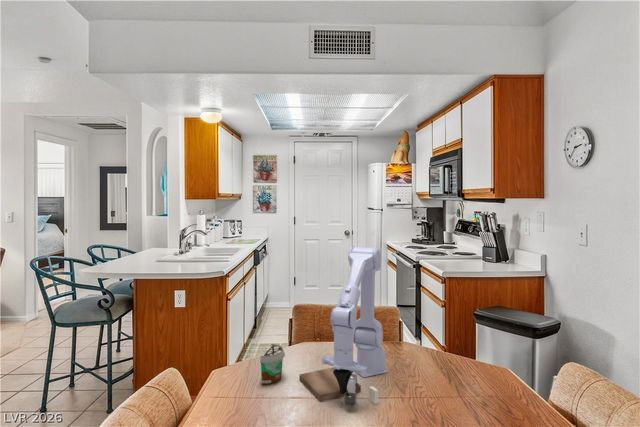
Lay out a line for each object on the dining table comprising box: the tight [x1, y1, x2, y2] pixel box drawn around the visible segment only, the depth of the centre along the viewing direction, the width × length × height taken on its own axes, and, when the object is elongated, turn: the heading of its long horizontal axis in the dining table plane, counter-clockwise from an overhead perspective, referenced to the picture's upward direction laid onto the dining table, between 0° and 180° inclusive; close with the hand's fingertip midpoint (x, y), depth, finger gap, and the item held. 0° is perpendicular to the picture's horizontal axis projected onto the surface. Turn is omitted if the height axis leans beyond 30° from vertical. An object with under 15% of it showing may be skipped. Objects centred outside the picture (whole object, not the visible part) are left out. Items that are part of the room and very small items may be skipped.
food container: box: [259, 343, 286, 386], centre depth 137 cm, size 12×6×10 cm, turn 168°
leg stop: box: [368, 385, 379, 405], centre depth 122 cm, size 1×3×4 cm, turn 26°
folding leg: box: [344, 373, 358, 406], centre depth 123 cm, size 15×3×2 cm, turn 173°
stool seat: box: [298, 366, 362, 403], centre depth 133 cm, size 14×16×2 cm
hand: (343, 392), depth 122 cm, fingers closed, pressing on folding leg
